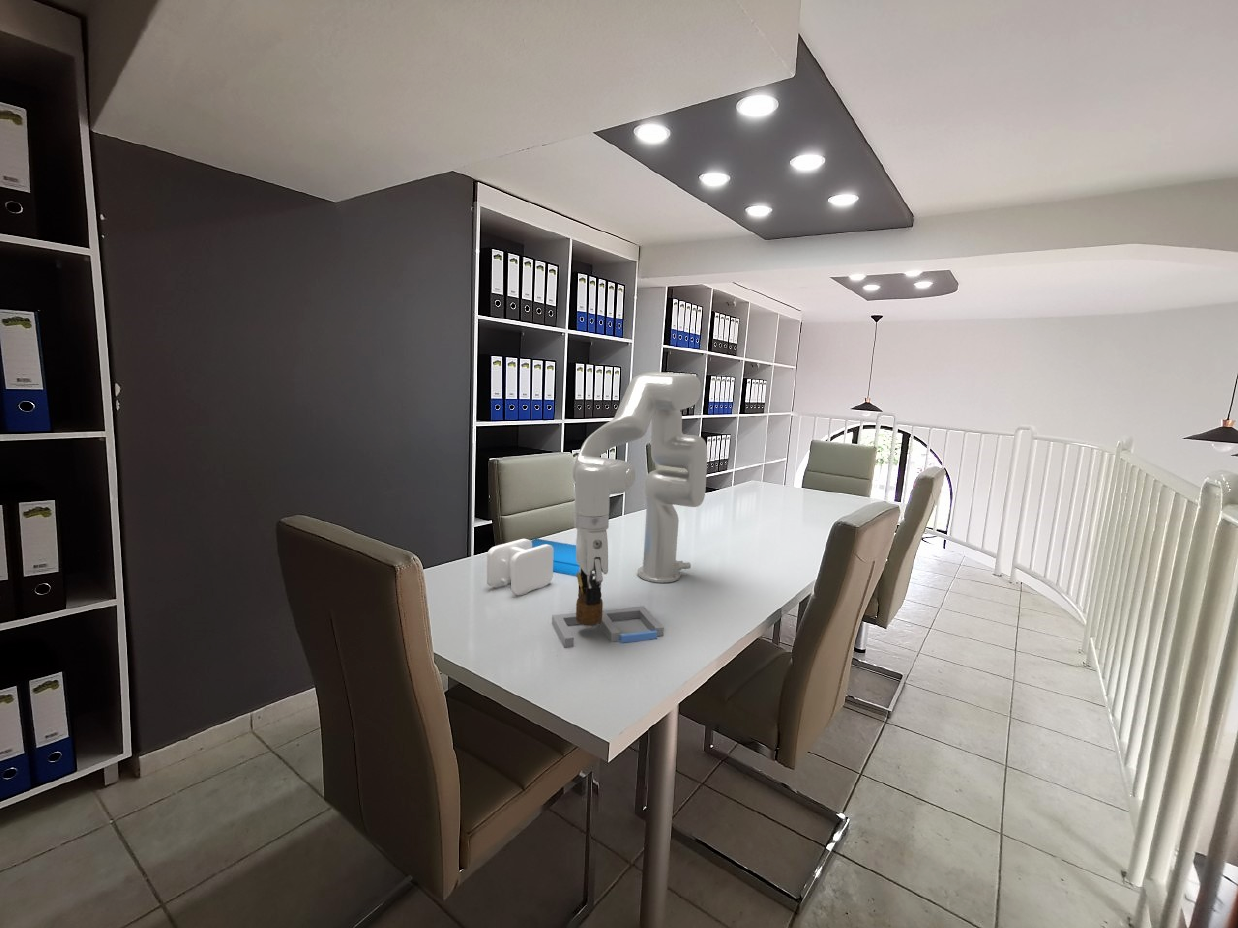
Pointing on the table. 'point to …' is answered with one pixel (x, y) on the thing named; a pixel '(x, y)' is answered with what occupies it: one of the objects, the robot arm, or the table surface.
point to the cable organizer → (520, 566)
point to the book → (561, 556)
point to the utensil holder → (587, 608)
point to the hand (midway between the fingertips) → (589, 597)
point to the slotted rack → (611, 625)
